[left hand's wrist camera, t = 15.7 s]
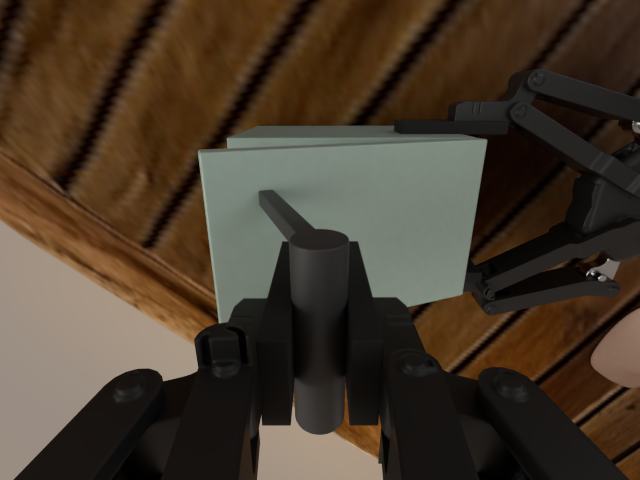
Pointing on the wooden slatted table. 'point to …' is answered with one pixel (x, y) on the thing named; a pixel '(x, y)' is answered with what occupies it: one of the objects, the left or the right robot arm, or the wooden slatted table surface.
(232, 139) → the chest
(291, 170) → the lid
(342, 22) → the wooden slatted table surface
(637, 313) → the anatomical model
